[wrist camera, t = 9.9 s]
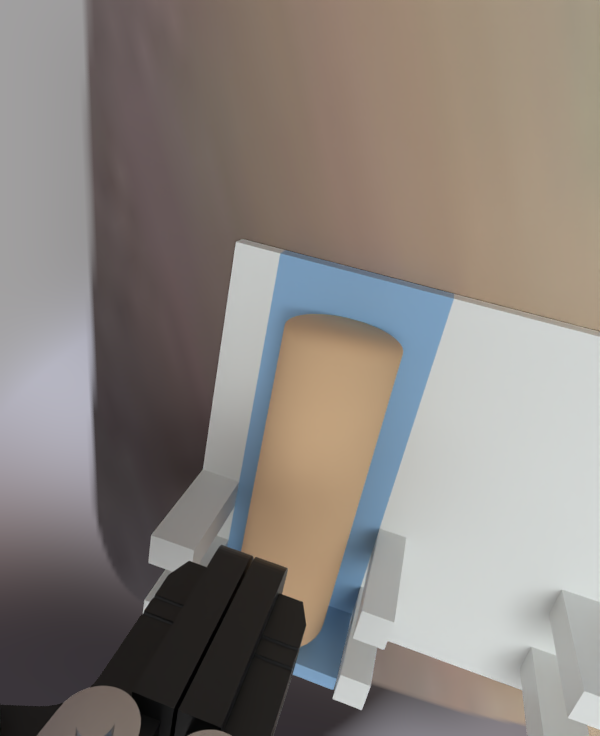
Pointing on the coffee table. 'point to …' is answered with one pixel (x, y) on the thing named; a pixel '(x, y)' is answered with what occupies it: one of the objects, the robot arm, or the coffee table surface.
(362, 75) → the coffee table surface
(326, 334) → the tan rounded cylinder
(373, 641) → the cylinder holder rack
